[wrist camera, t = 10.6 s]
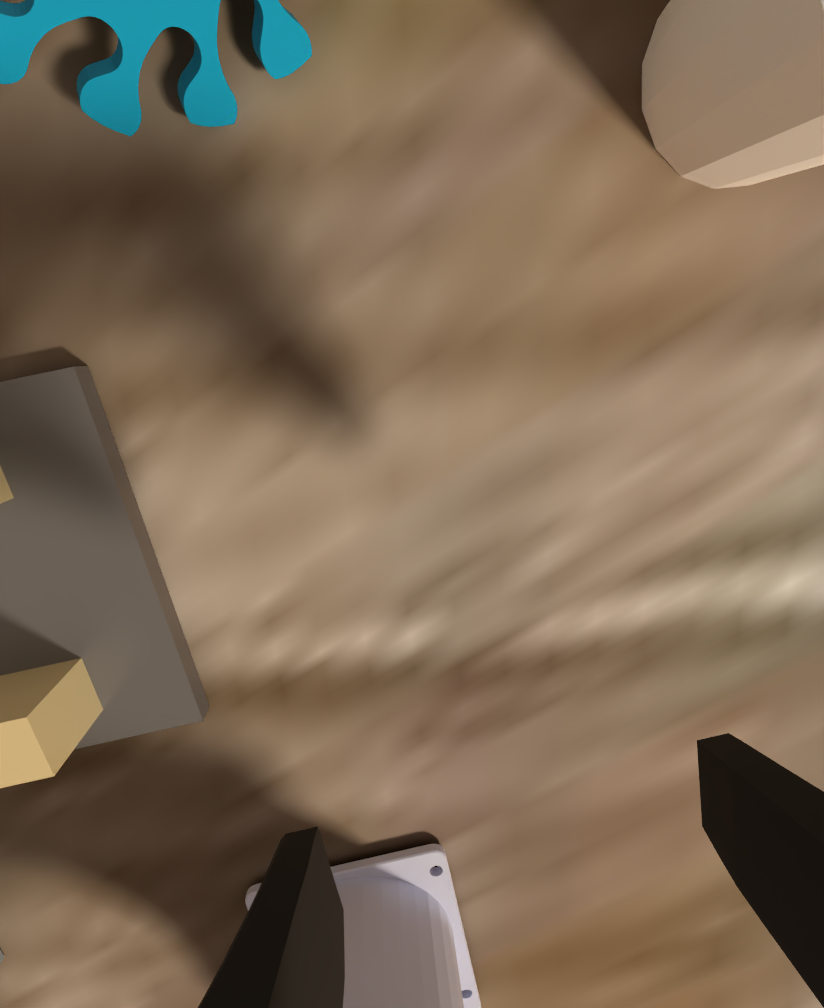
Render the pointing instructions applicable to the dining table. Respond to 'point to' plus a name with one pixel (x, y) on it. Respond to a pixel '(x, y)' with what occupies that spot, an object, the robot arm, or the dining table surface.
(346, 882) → the robot arm
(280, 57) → the gear
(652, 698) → the dining table surface
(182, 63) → the dining table surface
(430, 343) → the dining table surface
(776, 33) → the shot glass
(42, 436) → the panel
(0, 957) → the parts tray
